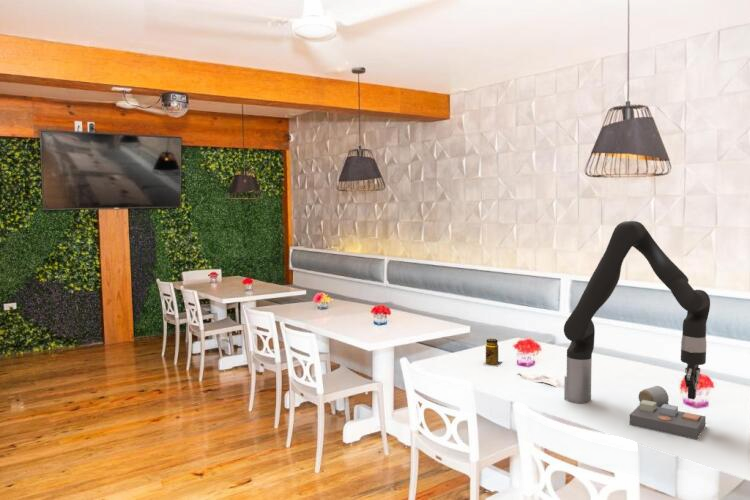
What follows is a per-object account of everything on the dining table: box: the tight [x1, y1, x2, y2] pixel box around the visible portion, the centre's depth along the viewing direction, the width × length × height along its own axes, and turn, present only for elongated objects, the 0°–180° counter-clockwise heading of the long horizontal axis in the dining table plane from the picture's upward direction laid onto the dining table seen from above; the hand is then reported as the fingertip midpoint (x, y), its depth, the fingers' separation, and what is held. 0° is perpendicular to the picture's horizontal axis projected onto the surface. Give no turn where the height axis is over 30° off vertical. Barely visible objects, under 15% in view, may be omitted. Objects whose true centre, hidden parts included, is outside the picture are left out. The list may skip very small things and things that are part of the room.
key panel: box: [629, 405, 706, 440], centre depth 203 cm, size 21×14×4 cm, turn 51°
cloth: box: [516, 372, 565, 388], centre depth 257 cm, size 26×14×2 cm, turn 28°
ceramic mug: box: [638, 385, 670, 408], centre depth 220 cm, size 11×8×8 cm
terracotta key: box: [683, 412, 701, 422], centre depth 201 cm, size 4×4×3 cm
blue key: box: [660, 404, 679, 417], centre depth 205 cm, size 4×4×3 cm
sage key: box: [638, 400, 656, 413], centre depth 209 cm, size 4×4×3 cm
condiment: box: [483, 338, 503, 367], centre depth 284 cm, size 7×8×12 cm
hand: (691, 398), depth 200 cm, fingers closed
